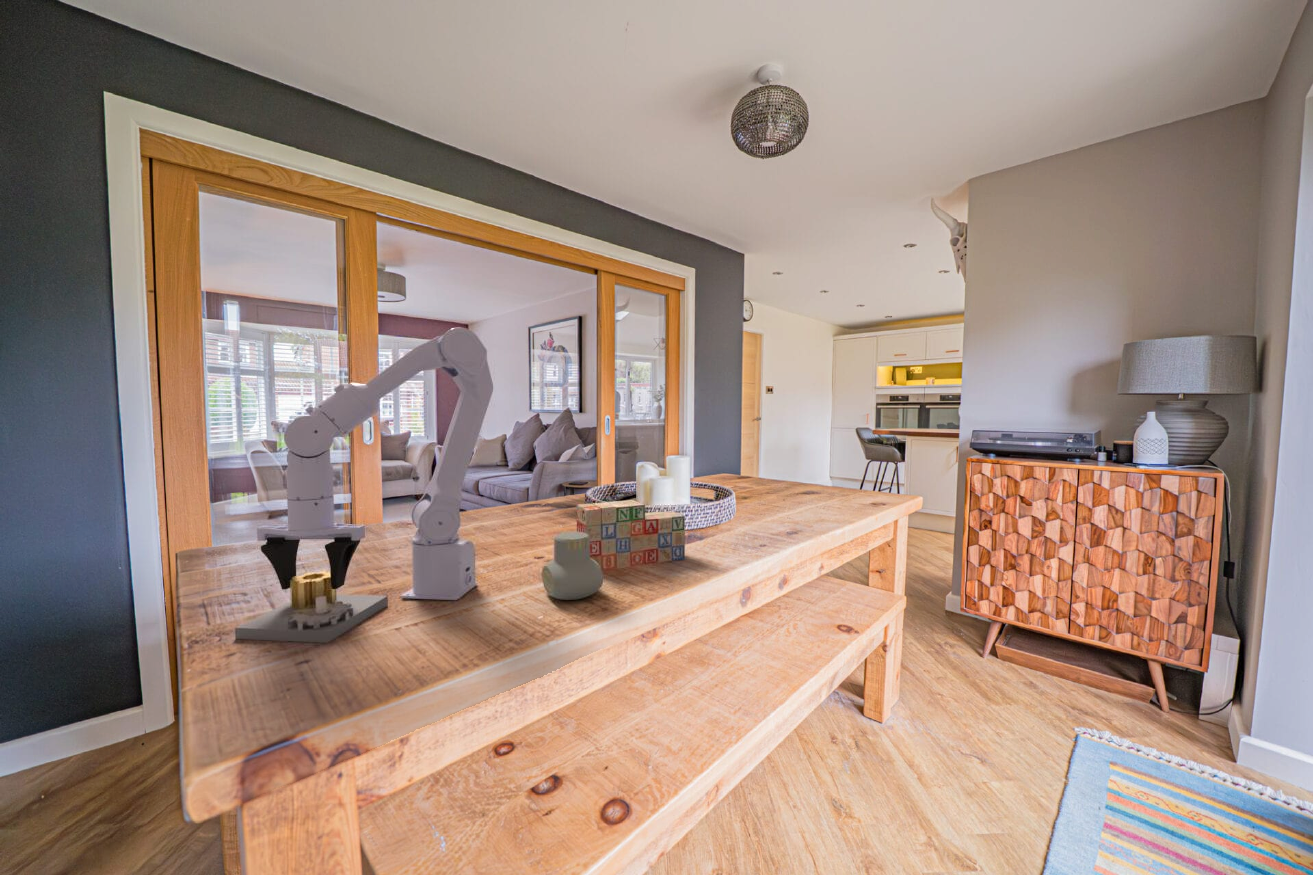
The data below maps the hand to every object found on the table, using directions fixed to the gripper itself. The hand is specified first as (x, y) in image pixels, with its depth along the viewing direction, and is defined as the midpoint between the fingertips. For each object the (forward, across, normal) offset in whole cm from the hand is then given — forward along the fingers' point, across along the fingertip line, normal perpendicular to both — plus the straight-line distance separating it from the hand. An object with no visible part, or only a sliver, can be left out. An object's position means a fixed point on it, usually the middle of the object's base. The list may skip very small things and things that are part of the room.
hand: (313, 586), depth 76 cm
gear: (+2, -5, +6) cm, 8 cm away
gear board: (+4, -2, +3) cm, 5 cm away
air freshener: (+4, -38, -7) cm, 39 cm away
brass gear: (+2, 0, 0) cm, 2 cm away
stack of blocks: (+4, -48, -25) cm, 54 cm away
